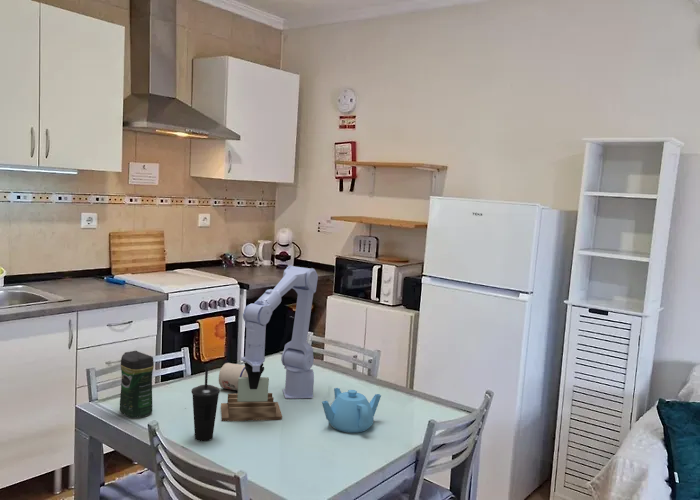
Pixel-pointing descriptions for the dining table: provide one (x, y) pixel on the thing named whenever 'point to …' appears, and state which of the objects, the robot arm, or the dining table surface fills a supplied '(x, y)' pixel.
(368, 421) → the teapot
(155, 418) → the dining table surface
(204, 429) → the drinking cup
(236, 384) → the beige mug
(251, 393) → the upright gray panel
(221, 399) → the dining table surface
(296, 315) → the robot arm
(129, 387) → the coffee jar
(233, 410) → the walnut rack
